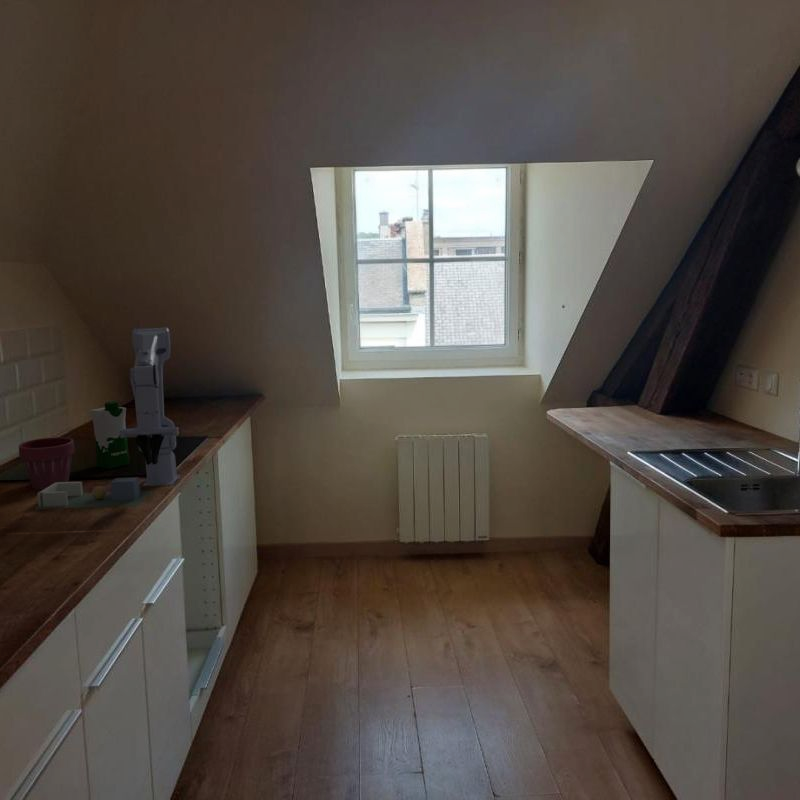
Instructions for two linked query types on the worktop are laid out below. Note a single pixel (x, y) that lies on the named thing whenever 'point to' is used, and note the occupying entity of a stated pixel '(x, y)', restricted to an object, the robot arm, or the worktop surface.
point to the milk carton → (110, 436)
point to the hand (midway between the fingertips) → (152, 463)
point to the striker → (125, 489)
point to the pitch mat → (98, 501)
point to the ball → (99, 492)
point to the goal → (59, 493)
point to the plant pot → (47, 460)
